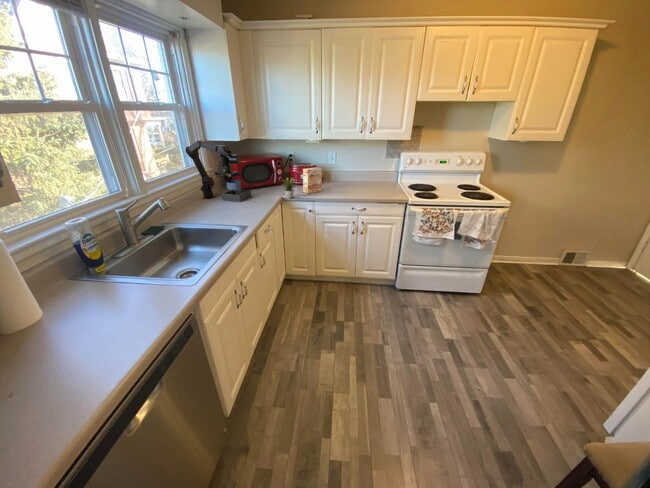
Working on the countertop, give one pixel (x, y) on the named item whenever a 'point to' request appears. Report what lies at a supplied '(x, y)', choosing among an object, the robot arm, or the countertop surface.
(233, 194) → the tote
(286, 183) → the house plant
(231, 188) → the rice bowl
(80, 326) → the countertop surface
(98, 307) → the countertop surface
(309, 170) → the coffeecake box
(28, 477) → the countertop surface
